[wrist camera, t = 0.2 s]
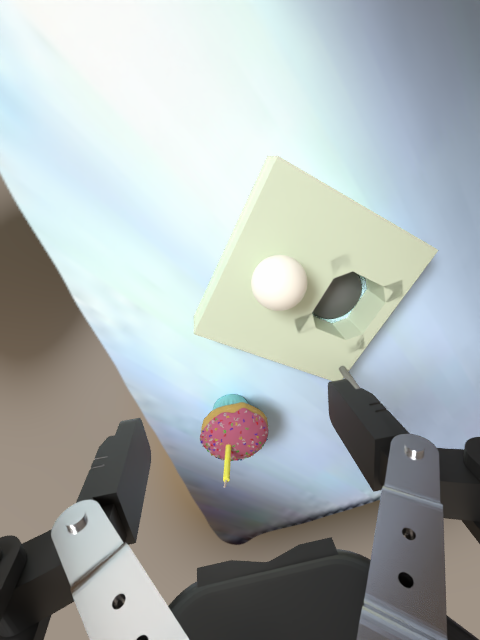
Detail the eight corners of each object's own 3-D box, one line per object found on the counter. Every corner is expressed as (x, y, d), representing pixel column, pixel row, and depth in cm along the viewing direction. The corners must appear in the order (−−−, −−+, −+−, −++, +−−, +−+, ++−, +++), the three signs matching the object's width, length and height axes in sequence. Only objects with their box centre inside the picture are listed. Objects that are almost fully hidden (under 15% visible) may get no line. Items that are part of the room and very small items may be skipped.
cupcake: (194, 425, 43) (194, 512, 32) (208, 377, 39) (213, 457, 29) (251, 431, 45) (269, 514, 35) (270, 386, 41) (295, 464, 31)
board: (267, 156, 28) (339, 154, 14) (413, 240, 34) (565, 297, 20) (187, 330, 36) (183, 441, 22) (318, 375, 42) (382, 485, 28)
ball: (262, 239, 28) (274, 254, 24) (307, 261, 29) (327, 279, 25) (238, 286, 30) (246, 308, 25) (282, 304, 31) (296, 328, 27)
